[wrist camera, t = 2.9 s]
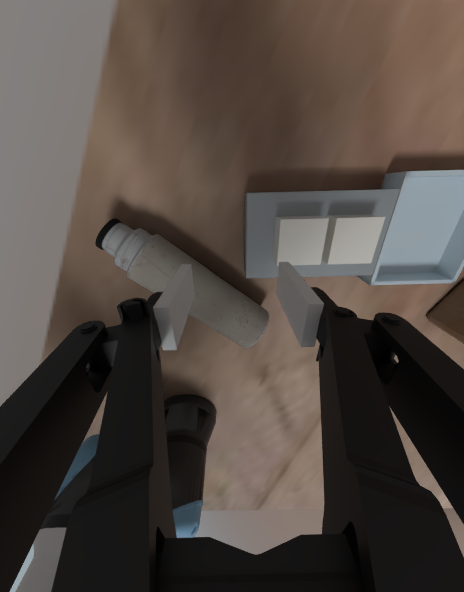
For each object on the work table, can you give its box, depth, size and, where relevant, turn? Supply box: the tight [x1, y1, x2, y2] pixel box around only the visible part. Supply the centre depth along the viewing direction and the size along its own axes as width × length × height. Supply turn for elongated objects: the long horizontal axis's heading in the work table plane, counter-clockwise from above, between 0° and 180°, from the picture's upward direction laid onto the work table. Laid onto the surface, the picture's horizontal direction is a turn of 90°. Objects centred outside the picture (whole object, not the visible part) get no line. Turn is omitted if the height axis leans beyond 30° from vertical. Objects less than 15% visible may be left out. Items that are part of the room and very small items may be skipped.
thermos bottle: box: [96, 219, 269, 348], centre depth 33 cm, size 8×8×28 cm
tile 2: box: [273, 216, 329, 266], centre depth 28 cm, size 6×6×3 cm
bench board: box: [244, 189, 400, 278], centre depth 31 cm, size 20×12×4 cm, turn 91°
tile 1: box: [321, 214, 385, 264], centre depth 28 cm, size 6×6×3 cm
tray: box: [356, 170, 464, 285], centre depth 31 cm, size 14×16×4 cm
